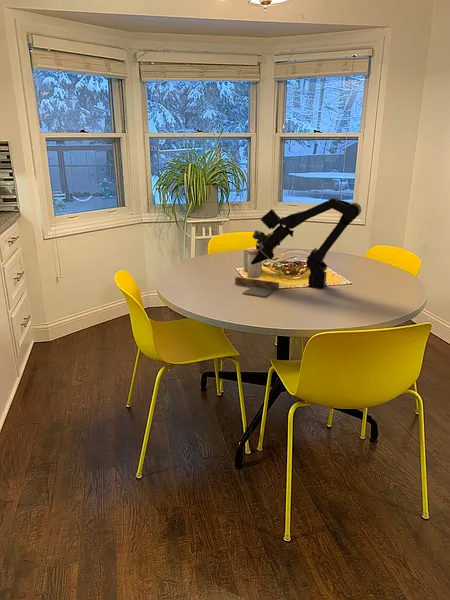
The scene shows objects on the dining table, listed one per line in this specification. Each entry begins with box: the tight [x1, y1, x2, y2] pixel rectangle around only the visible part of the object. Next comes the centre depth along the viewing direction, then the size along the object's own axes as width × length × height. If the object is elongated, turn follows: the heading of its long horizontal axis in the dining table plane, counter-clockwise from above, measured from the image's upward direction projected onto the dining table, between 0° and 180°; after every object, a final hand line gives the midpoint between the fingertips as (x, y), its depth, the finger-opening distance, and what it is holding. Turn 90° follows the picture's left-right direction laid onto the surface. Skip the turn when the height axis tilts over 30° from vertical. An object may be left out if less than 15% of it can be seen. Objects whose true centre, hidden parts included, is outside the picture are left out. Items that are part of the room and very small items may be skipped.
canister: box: [247, 248, 261, 279], centre depth 200 cm, size 6×6×12 cm
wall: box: [234, 276, 280, 291], centre depth 196 cm, size 20×1×3 cm, turn 63°
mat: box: [242, 286, 275, 298], centre depth 189 cm, size 10×10×1 cm
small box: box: [243, 246, 263, 272], centre depth 221 cm, size 8×6×10 cm
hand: (250, 262), depth 200 cm, fingers closed on canister, 6 cm apart
